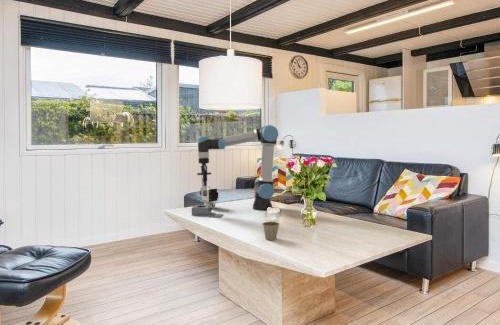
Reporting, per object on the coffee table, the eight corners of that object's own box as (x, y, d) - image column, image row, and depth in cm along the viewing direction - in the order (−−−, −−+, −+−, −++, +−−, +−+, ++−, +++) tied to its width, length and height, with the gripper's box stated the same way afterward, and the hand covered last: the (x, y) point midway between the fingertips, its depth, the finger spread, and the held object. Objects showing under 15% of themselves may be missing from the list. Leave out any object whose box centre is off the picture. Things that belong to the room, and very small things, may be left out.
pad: (223, 214, 266) (223, 213, 266) (221, 217, 257) (221, 216, 257) (211, 214, 266) (211, 213, 266) (208, 217, 257) (208, 216, 257)
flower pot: (282, 238, 203) (282, 223, 203) (272, 242, 196) (272, 226, 196) (269, 235, 210) (269, 220, 209) (259, 239, 203) (258, 223, 202)
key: (197, 195, 267) (196, 172, 265) (211, 195, 269) (210, 172, 268) (198, 196, 263) (197, 173, 262) (212, 195, 266) (211, 172, 265)
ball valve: (220, 209, 285) (220, 186, 284) (211, 210, 280) (210, 187, 279) (208, 205, 299) (208, 184, 298) (199, 206, 294) (199, 185, 293)
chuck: (211, 212, 275) (211, 204, 274) (208, 215, 263) (207, 208, 262) (195, 211, 276) (195, 204, 275) (191, 215, 264) (191, 208, 263)
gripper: (197, 157, 271) (198, 188, 273) (200, 158, 255) (201, 191, 257) (207, 156, 273) (208, 187, 275) (210, 158, 257) (211, 191, 259)
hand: (204, 189), depth 266 cm, fingers closed on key, 3 cm apart
